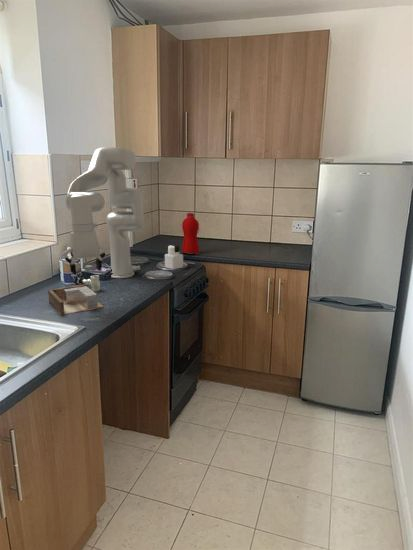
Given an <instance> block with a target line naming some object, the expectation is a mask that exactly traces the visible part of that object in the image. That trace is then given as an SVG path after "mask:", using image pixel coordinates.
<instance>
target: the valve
mask: <svg viewBox="0 0 413 550" xmlns="http://www.w3.org/2000/svg"><path fill="white" fill-rule="evenodd" d="M73 278H74V280H72V283H73V284H74V286H76V285H83V284H88V285H89V287H91V288H90V289H91V290H92V291H93V292H94V293H96V292H99V291H100V290H101V288H100V287H101V282H100V275H97V274H94V275H90V278H88V279H86V278H85V277H84V273H79V272H76V275H74V276H73Z"/></svg>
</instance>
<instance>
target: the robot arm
mask: <svg viewBox="0 0 413 550" xmlns="http://www.w3.org/2000/svg"><path fill="white" fill-rule="evenodd" d="M136 163H137V157H136V154H135V152H134V151H133V150H131V149H127V148H124V147H106V146H105V147H99V148H97V149H95V150H94V152H93V154H92V156H91V161H90V163H89V166H88V170H87V171H85V172H84V173H82V174H81V175H79V176H78V177H76V178H75V179H74V180H73V181H72V182H71V183H70V185H69V187H68V191H67V193H66V196H65V205H66V208H67V209H68V210H69V211H70V213H71V225H72V231H70V235H69V248H68V249H66V250H64V251H63V252H62V253H61V256H62V258H63V259H64V260H65V261H66V262H68V263H69V268H70V272H71V273H72V274H73V275H74V276H77V267H76V264H75V263H76V261H77V260H81V259H87V258H94V257H95V258H96V259H95V264H96V266H95V267H96V270H98V271H99V272H101V270H102V267H103V265H102V264H103V263H102V261H103V258H105V256H106V254H107V252H108V248H107V247H105V246H102V245H101V244H99V241H98V237H97V233H96V230H95V229H96V228H97V227H98V225H97V223H94V220H93V217H94V216H93V213H98V212H100V211H102V210H103V209H104V206H105V202H106V201H105V198H104V196H103V194H102V193H100V192H96V191H90V190H92V189H95V188H99V187H100V186H104V185H105V184H106V183H107V193H108V194H107V197H108V204H109V206H110V207H111V208H113V209H128V210H129V209H130V210H132V211H124V210H123V211H122V210H120V211H119V210H117V211H111V212H109V213H107V216H106V226H107V231H108V235H109V236H108V237H109V238H108V239H109V248H110V249H109V251H110V252H109V253H110V268H111V269H112V273H113V274H112V275H111V277H110V278H113V279H126V278H127V279H128V278H132V277H134V275H135V272H134V271H139V270H141V266H140V265H132V264H131V263H132V261H131V260H132V259H131V242H130V237H129V236H128V235H127V233H126V232H142V230H143V229H144V220H145V219H144V218H145V217H144V199H143V195H142V192H141V190H140V189H139V188H130V187H128V188H127V179H126V176H125V174H124V172H123V171H124V170H126V171H128V170H129V171H130V170H133V169H134V168H135V167H136ZM122 170H123V171H122ZM100 250H101V253H100ZM68 255H70V256H71V257H70V258H69V257H68Z"/></svg>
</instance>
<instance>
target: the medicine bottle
mask: <svg viewBox="0 0 413 550" xmlns="http://www.w3.org/2000/svg"><path fill="white" fill-rule="evenodd" d="M164 267H165V268H166V269H170V270H177V269H181V268H183V267H184V255H183V253H182V254H181V253H180V246H179V245H178V244H170V245H168V246H167V253H165V254H164Z"/></svg>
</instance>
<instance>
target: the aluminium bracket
mask: <svg viewBox="0 0 413 550" xmlns="http://www.w3.org/2000/svg"><path fill="white" fill-rule="evenodd" d="M64 297H65V302H66V303H67V304H68V303H74V302H79V301H80V302H81V303H82V304H83V305H84V306H85V307H86V308H87V309H89V308H94V307H98V302H99V301H98V294H97V293H96V292H94V291H92V290H91V288H90V287H89V288H88V287H87V286H84V287H77V288H71V289H65V290H64Z"/></svg>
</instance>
